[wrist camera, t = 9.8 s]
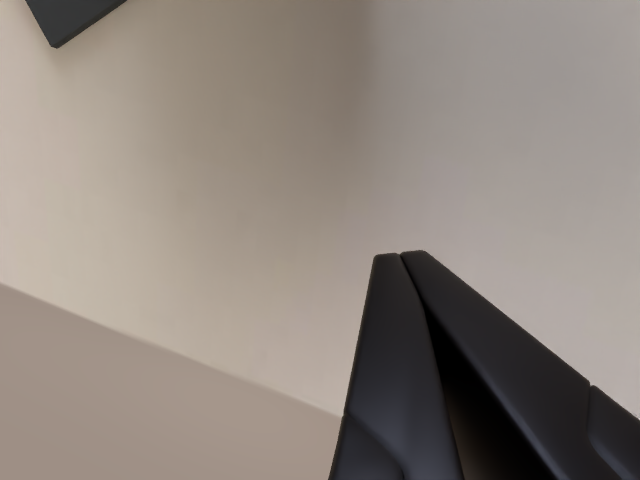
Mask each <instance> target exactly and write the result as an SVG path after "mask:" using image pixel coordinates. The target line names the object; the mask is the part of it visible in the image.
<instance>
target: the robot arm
mask: <svg viewBox="0 0 640 480" xmlns="http://www.w3.org/2000/svg"><path fill="white" fill-rule="evenodd" d="M328 480H640V420H639V419H637V418H636V417H635V416H633V415H632V414H631V413H629V412H628V411H627V410H625V409H624V408H623V407H622V406H620V405H619V404H618V403H616V402H615V401H614V400H613V399H611V398H610V397H609V396H608V395H606V394H605V393H604V392H603V391H601V390H600V389H599V388H597V387H596V386H594V385H592V386H590V382H589V381H588V380H587V379H586V378H585V377H583V376H582V375H581V374H580V373H578V372H577V371H576V370H575V369H573V368H572V367H571V366H569V365H568V364H567V363H566V362H564V361H563V360H562V359H561V358H559V357H558V356H557V355H556V354H554V353H553V352H552V351H551V350H549V349H548V348H547V347H546V346H544V345H543V344H542V343H541V342H539V341H538V340H537V339H536V338H534V337H533V336H532V335H530V334H529V333H528V332H527V331H525V330H524V329H523V328H522V327H520V326H519V325H518V324H517V323H515V322H514V321H513V320H512V319H510V318H509V317H508V316H507V315H505V314H504V313H503V312H502V311H500V310H499V309H498V308H497V307H495V306H494V305H493V304H491V303H490V302H489V301H488V300H486V299H485V298H484V297H483V296H481V295H480V294H479V293H478V292H476V291H475V290H474V289H473V288H471V287H470V286H469V285H468V284H466V283H465V282H464V281H463V280H461V279H460V278H459V277H458V276H456V275H455V274H454V273H452V272H451V271H450V270H449V269H447V268H446V267H445V266H444V265H442V264H441V263H440V262H439V261H437V260H436V259H435V258H434V257H432V256H431V255H430V254H429V253H427V252H426V251H423V250H416V251H406V252H402V253H401V254H400V255H399V254H397V253H387V254H378V255H376V256H375V257H374V259H373V264H372V269H371V274H370V279H369V285H368V290H367V295H366V300H365V305H364V310H363V315H362V320H361V325H360V330H359V335H358V341H357V346H356V351H355V356H354V361H353V366H352V371H351V376H350V381H349V386H348V392H347V397H346V402H345V407H344V415H343V417H342V420H341V426H340V431H339V436H338V441H337V445H336V450H335V454H334V458H333V462H332V466H331V471H330V475H329V478H328Z"/></svg>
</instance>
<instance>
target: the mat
mask: <svg viewBox="0 0 640 480" xmlns="http://www.w3.org/2000/svg"><path fill="white" fill-rule="evenodd" d="M25 1H26V2H27V4H28V6H29V8H30V10H31V11H32V13H33V15H34V17H35V19H36V20H37V22H38V24H39V26H40V28H41V29H42V31H43V33H44V35H45V37H46V39H47V40H48V42H49V44H50V46H51V47H54V48H56V49H57V48H59V47H60V46H62V45H63V44H65V43H66V42H68V41H69V40H71V39H72V38H73V37H75V36H76V35H78V34H79V33H81V32H82V31H84V30H85V29H86V28H88V27H89V26H91V25H92V24H94V23H95V22H97V21H98V20H99V19H101V18H102V17H104V16H105V15H107V14H108V13H109V12H111V11H112V10H114V9H115V8H117V7H118V6H120V5H121V4H122V3H124V2H125V1H127V0H25Z"/></svg>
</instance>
